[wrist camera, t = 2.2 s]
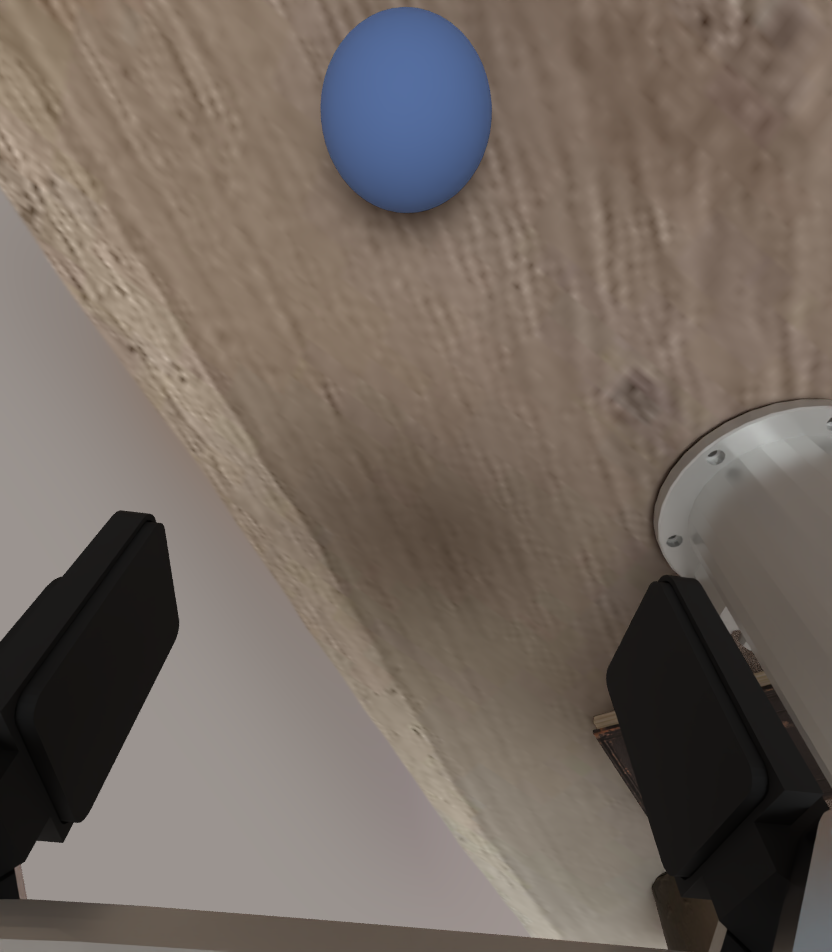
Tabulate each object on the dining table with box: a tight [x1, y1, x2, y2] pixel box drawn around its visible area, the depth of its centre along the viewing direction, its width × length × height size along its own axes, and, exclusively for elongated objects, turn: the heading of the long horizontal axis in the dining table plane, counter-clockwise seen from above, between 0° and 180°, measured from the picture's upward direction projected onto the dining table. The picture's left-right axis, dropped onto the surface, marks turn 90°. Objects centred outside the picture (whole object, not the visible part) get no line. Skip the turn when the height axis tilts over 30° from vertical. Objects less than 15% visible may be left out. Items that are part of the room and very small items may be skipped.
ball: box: [321, 7, 492, 213], centre depth 19 cm, size 6×6×6 cm
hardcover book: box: [593, 671, 832, 817], centre depth 40 cm, size 16×23×2 cm
